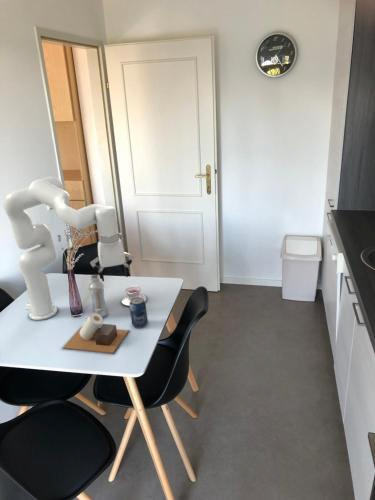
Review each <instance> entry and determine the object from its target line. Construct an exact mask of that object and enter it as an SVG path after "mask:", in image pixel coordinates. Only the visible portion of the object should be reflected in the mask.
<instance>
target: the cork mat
mask: <svg viewBox="0 0 375 500" xmlns="http://www.w3.org/2000/svg"><path fill="white" fill-rule="evenodd" d="M82 327H83V326H81V327H80V328H79V329H78V330H77V331H76V332H75V334H74V335H73V336H72V337H71V338H70V340H68V341H67V342H66V343H65V345H64V346H63V347H62V348H63V349H66V350H74V351H82V352H83V351H84V352H95V353H103V354H115V352H116V351H117V349H118V348H119V346H120V344H121V343H122V342H123V340H124V339H125V338H126V336H127V334H128V333H129V330H124V329H122V330H121V329H117V336H116V338H115V339H114V341H113V342H112V343H111V345H110V346H105V345H96V341H95V335H94V337H93V338H92V339H91V340H85V339H83V338H82V337H81V336H80V330H81V328H82Z"/></svg>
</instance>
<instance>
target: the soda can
mask: <svg viewBox="0 0 375 500" xmlns="http://www.w3.org/2000/svg"><path fill="white" fill-rule="evenodd" d="M146 304H147V303H146V301H144V299H143V298H139V297H138V298H133V299H132V300H131V301H130V306H129V313H130V319H131V320H130V321H131V325H132V326H133V327H134V328H135V329H142V328H145V327H146V326H147V324H148V321H149V320H148V313H147V312H148V311H147V305H146Z"/></svg>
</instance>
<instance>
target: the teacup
mask: <svg viewBox="0 0 375 500" xmlns="http://www.w3.org/2000/svg"><path fill="white" fill-rule="evenodd" d="M124 292H125V294H126V296H124V297H123V298H122V299H121V304H122V305H123V306H127V307H130V301H131V300H132V299H133V298H138V297H139V298H143V299H144V301H145V302H146V301H147V296H145V295H144V294H140V293H141V292H142V287H141V286H139V285H130V286H128V287H126V288H125V289H124Z"/></svg>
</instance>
